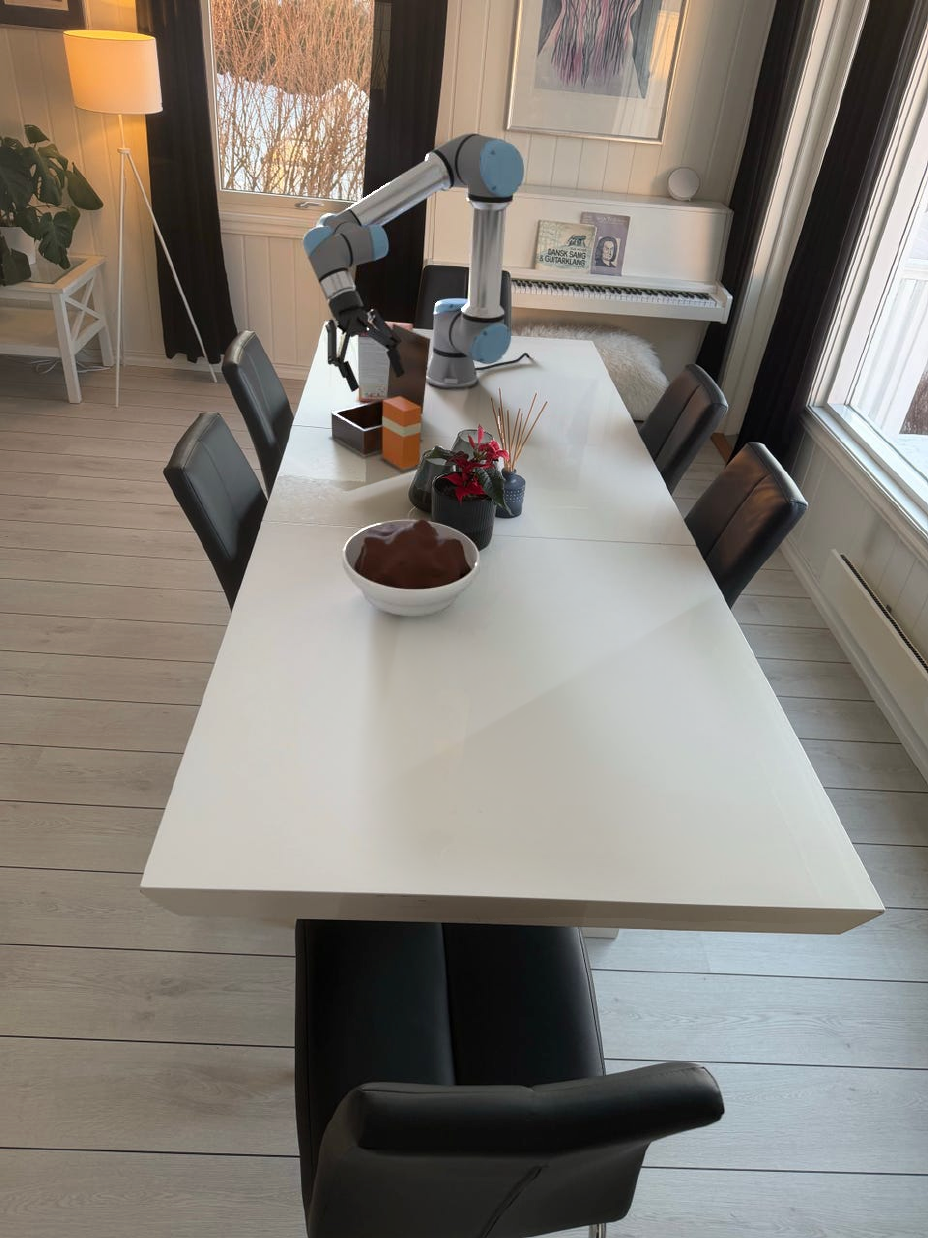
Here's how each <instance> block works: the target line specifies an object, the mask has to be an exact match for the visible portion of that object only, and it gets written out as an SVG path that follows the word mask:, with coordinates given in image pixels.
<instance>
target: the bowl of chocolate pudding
mask: <svg viewBox="0 0 928 1238" xmlns="http://www.w3.org/2000/svg"><path fill="white" fill-rule="evenodd" d="M481 560H482V559H481V555H480V552H479V549H478V547H477V546H476V544H475V542H474V541H473V540H471V539H470V538H469V537H468V536H467V535H465V534H464V533H463V532H461V531H459V530H457V529H455V528H453V527H450V526H448V525H445V524H442V523H438V522H434V521H428V520H425V519H422V518H420V519H396V520H395V519H394V520H388V521H383V522H379V523H375V524H372V525H369V526H367V527H364V528H362V529H360V530H359V531H357V532H355V533H354V534H353V535H352V536H351V537H350V538H349V539H347V541H346V542H345V545H344V547H343V549H342V552H341V562H342V568H343V570H344V572H345V574H346V575H347V577H348V578H349V580H350V581H351V582H352V583H353V584H354V585H355V587H357V588H358V589H359V590H360V591H361V593H362V594H363V596H364V597H365V599H366V600H367V601H368V602H369V603H370V604H371V605H372V606H373V607H375V608H376V609H378V610H381V611H382V612H385V613H388V614H392V615H395V616H402V617H422V616H428V615H433V614H436V613H439V612H441V611H444V610H445V609H447V608H448V607H450V606H451V605H452V604H453V603H454V602H456V600H457V598H458V597H459V595H460V594H461V593H463V591H465V590H466V589H467V588H468V587H469V586H470V585H471V584H472V583H473V581H475V578H476V577H477V576H478V574H479V572H480V569H481Z"/></svg>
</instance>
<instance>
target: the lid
mask: <svg viewBox="0 0 928 1238" xmlns="http://www.w3.org/2000/svg"><path fill="white" fill-rule="evenodd" d="M396 323H397V322H394V323H393V328H392V330H393V331H394V332H395V333H396V334H397V335H398V336H399V338H400V339H401V342H400V343H399V344H398V345H397V350H398V352H399V354H400V357H401V360H400V363H401V365H402V367H403V370H404V372H405V374H403V375H402V376H400V377H398V378H397V376H396V374H395V372H394V369H393V367H392V365H391V362H390V365H389V377H388V389H387V397H388V398H394V397H398V396H401V397H403V398H404V399H406V400H408V401H410V402H412V403H414V404H416V405H418V406H420V407H421V415H422V414H424V413H423V411H424V405H425V404H424V403H425V395H426V394H425V393H426V385H427V381H426V376H427V368H428V366H429V357H430V356H429V355H430V345H431V337H428V336H426V335H424V334H421V333H419V332H416V331H414V330H413V331H412V330H409V329H407V328H405V327H403V326H400V325H398V324H396Z"/></svg>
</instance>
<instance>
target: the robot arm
mask: <svg viewBox="0 0 928 1238" xmlns="http://www.w3.org/2000/svg"><path fill="white" fill-rule="evenodd" d="M524 176H525V163H524V159H523V157H522V154H521V153H520V151H519V150H518V148H517V147H516V146H515V145H514V144H512V143H510V142H507V141H506V140H504V139H502V138H496V137H490V136H488V135H482V134H479V133H473V132H471V133H465V134H462V135H459V136H457V137H454V138H452V139H450V140H448V141H446V142H445V143H443V144H441V145H439V146H437V147H436V148H435V149H432V150H431V151H429V152H428V153H427V154H426V156H425V159H424V161H422V162H420V163H419V164H417V165H416V166H414V167H412V168H410V169H409V170H408V171H406V172H404V173H402V174H401V175H399V176H398V177H395V178H394V179H393V180H392V181H389V182H388V183H386V184H385V185H383V186H381V187H380V188H379V189H377V190H375V191H373V192H372V193H371V194H369V195H367V196H366V197H364V198H362V199H361V200H358V201H357V202H356V203H354V204H352V205H351V206H350V207H348V208H346V209H345V210H342V211H341V212H338V214H335V213H326V214H324V215H322V216H321V217H320V219H319V220H318V221H317V224H316V227H314V228H312V229H310V230H309V231H307V232H306V233H305V234H304V235H303V237H302V245H303V249H304V251H305V254H306V257H307V259H308V261H309V264H310V265H311V268H312V270H313V272H314V274H315V276H316V279H317V282H318V284H319V286H320V288H321V290H322V293H323V295H324V298H325V300H326V301H327V302H328V304H327V305H328V307H329V310H330V312H331V315H332V317H333V318H334V319H335V320H334V319H329V320H328V321H327V322H326V323H325V324H324V327H325V331H326V333H327V364H328V365H331V366H332V365H333V366H334V367H335V368H338V370H339V371H338V372H339V373H340V375H341V378H343V379H345V380H346V382H347V385H348V387H349V388H350V391H351V393H353V392H355V391H357V390H359V382H358V381H357V379H356V376H355V373H354V372H353V369H352V367H351V365H350V362H349V360H346V361H345V359H346V355H347V351H348V347H349V343H350V338H354V337H356V336H358V335H362V334H363V333H364V334H365V335H368V336H370V337H371V338H373V339H374V340H375V341H377V342H378V343H380V344H381V345H382V346H384V347H385V348H387V349H388V350H389V351H387V352H386V353H387V355H388V357H389V360H390V362H391V365H392V367H393V369H394V372H395V374H396V376H397V378H398V377H400V376H402V375H403V374H405V372H404V370H403V367H402V365H401V363H400V360H401V357H400V354H399V352H398V350H397V345H398V344H399V343H400V342H401V339H400V338H399V336H398V335H397V334H396V333H395V332H394V331H393V330H392V329H391V328H390V327H389V326H388V325H387V324H386V323H385V322H386V321H385V320H384V319H383V318H382V317H381V315H380V313H379V312H378V310H377V309H376V308H372V309H371V310H370V311H368V312H366V311H365V309H364V303H363V302H362V299H361V296H360V294H359V292H358V291H357V290H356V289H357V286H356V284H355V282H354V280H353V277H352V275H351V272H350V271H349V268H351V267H355V266H358V265H363V264H366V263H370V262H375V261H377V260H380V259H382V258H384V257H386V256H387V254H388V253H389V240H388V236H387V235H388V234H387V233H386V230H385V229H384V228H383V226H384V225H386V224H388V223H389V222H390V221H392V220H394V219H395V218H398V217H399V216H400V215H402V214H404V213H406V211H408V210H410V209H411V208H413V207H415V206H417V205H418V204H420V203H421V202H423V201H424V200H426V199H427V198H430V197H431V196H432V195H434V194H436V193H437V192H440V191H442V192H447V191H449V190H450V189H452V188H454V187H456V186H466V200H467V202H468V203H469V204H470V205H471V208H472V209H471V225H470V227H471V229H470V247H469V267H468V268H469V269H468V288H467V289H468V290H467V298H461V297H460V298H458V297H457V298H445V299H440V300H438V301H437V302H436V303H435V305H434V308H433V309H434V310H433V330H432V331H433V332H432V353H431V355H430V359H429V361H428V366H427V376H426V383H428V384H430V385H432V386H435V387H438V388H443V389H448V390H449V389H450V390H459V389H467V388H470V387H471V388H472V387H473V386H475V385H476V383H477V381H478V373H477V371H484V370H490V369H493V368H496V367H501V366H506V365H512V364H515V363H518V362H520V361H521V360H522V359H523V358H524V357H526V358H530V357H531V356H530V354H528V353H527V352H523V353H522V354H521V355H520V356H519V357H518V358H516V359H513V360H508V361H502V362H498V361H500V360H501V359H502V358H503V356H504V355H506V353H507V352H508V350H509V349H510V346H511V341H512V333H511V331H510V329H509V327H508V326H507V325H506V324H505V309H504V308H503V307H502V306H501V303H500V301H501V289H502V274H503V273H502V272H503V260H504V247H505V246H504V244H505V232H506V231H505V229H506V228H505V227H506V216H507V208H508V207H509V206H510V205H511V204H512V203H513V202H514V195H515V193H517V191H518V190H519V187H521V186H522V184H523V180H524ZM368 320H369V321H371V322H372V323H373V324H374V325H373V324H371V323H370V322H368ZM374 326H375V327H376V328H377V329H378V330H377V329H376V328H375V327H374ZM337 329H339V330H340V331H341V333H340V340H339V345H338V331H337ZM475 362H477V363H480V364H483V365H486V366H479V367H476V366H475ZM497 362H498V363H497Z"/></svg>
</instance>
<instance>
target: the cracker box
mask: <svg viewBox="0 0 928 1238" xmlns="http://www.w3.org/2000/svg"><path fill="white" fill-rule="evenodd" d="M368 322H370V323H371V324H373V323H372V322H371V321H369V319H368ZM385 323H386V324H387V325H388V326H389V327H390V328H391V329H392V328H393V323H396V324H398V325H400V326H403V327H405V328H407V329H409V330H412V331H414V330H413V328H414V325H413V323H405V322H394V321H385ZM373 325H374V324H373ZM374 327H375V326H374ZM375 328H376V327H375ZM376 329H377V328H376ZM377 330H378V329H377ZM387 351H389V350H388V349H387V348H385V347H384V346H382V345H381V344H380V343H378V342H377V341H375V340H374V339H373V338H371V337H370V336H368V335H365V334H364V333H363V334H362V335H357V355H358V356H357V363H358V365H357V366H358V367H357V369H358V371H357V375H358V379H357V380H358V385H359V388H358V401H359V402H368V403H370V402H376V401H380V400H384V399H390V398H388V397H387V389H388V377H389V365H390V360H389V357H388V355H387V353H386V352H387Z"/></svg>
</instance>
